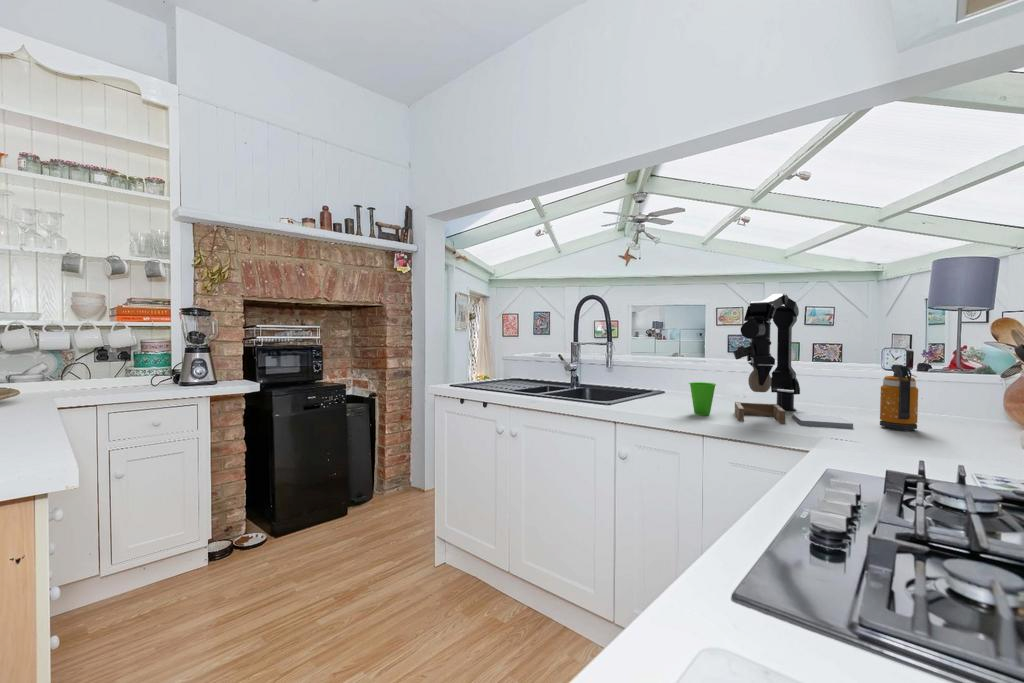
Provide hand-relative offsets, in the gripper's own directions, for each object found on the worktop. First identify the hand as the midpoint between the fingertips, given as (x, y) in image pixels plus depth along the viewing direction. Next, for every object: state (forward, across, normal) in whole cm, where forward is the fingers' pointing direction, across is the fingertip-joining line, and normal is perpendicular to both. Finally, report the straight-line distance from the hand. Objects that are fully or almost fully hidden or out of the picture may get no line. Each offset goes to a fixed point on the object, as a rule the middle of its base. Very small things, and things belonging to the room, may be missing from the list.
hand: (759, 384), depth 161 cm
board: (+12, 0, +18) cm, 22 cm away
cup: (+12, -2, -18) cm, 22 cm away
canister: (+12, +3, +38) cm, 40 cm away
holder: (+12, -2, 0) cm, 12 cm away
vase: (+3, 0, 0) cm, 3 cm away
